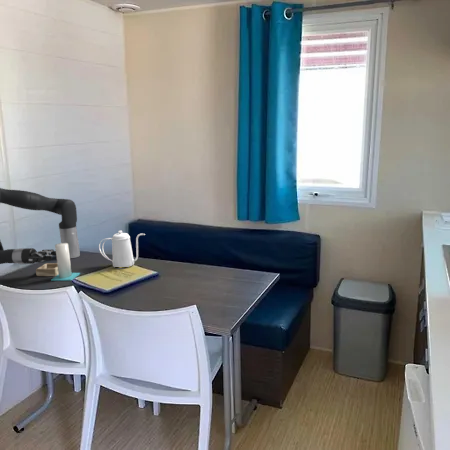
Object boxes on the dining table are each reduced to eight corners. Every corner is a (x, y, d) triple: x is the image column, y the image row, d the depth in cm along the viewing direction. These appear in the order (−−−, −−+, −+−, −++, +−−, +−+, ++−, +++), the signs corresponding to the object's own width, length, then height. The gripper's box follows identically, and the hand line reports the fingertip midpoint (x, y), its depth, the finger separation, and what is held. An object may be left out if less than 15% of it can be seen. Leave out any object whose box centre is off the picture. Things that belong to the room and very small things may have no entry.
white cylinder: (62, 274, 225) (58, 243, 221) (74, 274, 224) (70, 242, 221) (56, 278, 219) (52, 246, 216) (68, 278, 218) (64, 246, 215)
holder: (46, 269, 235) (46, 263, 235) (65, 269, 234) (64, 263, 233) (36, 276, 226) (35, 269, 225) (55, 276, 224) (54, 269, 224)
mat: (61, 274, 227) (61, 272, 227) (80, 273, 226) (79, 272, 226) (51, 280, 217) (51, 279, 217) (71, 280, 216) (70, 279, 216)
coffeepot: (145, 268, 229) (141, 232, 225) (97, 269, 232) (93, 233, 228) (150, 262, 240) (147, 227, 236) (105, 263, 243) (101, 228, 239)
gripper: (15, 252, 214) (47, 252, 212) (31, 244, 228) (61, 244, 226) (17, 267, 216) (49, 267, 214) (33, 259, 230) (63, 258, 228)
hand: (55, 255), depth 220 cm, fingers open, 8 cm apart
